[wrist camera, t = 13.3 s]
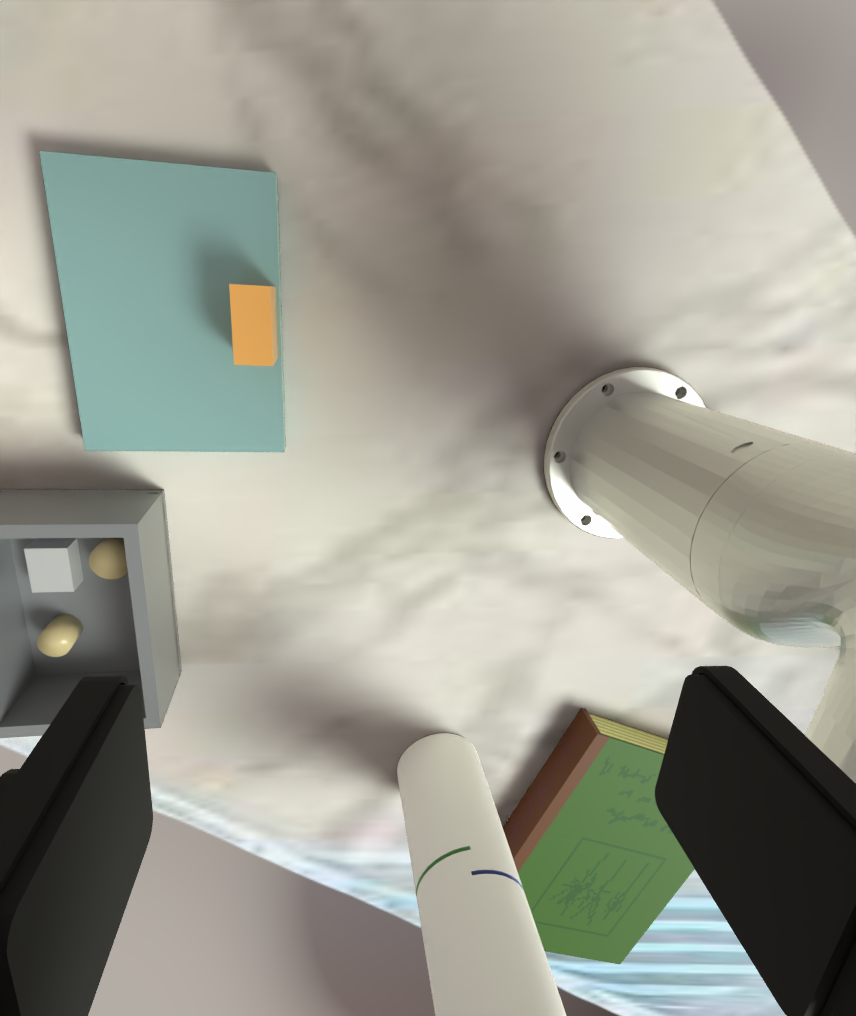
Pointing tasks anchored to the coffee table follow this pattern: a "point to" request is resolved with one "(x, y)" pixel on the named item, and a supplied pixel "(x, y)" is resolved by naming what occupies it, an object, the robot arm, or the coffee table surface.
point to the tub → (83, 601)
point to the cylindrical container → (469, 889)
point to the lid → (170, 302)
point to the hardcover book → (596, 841)
